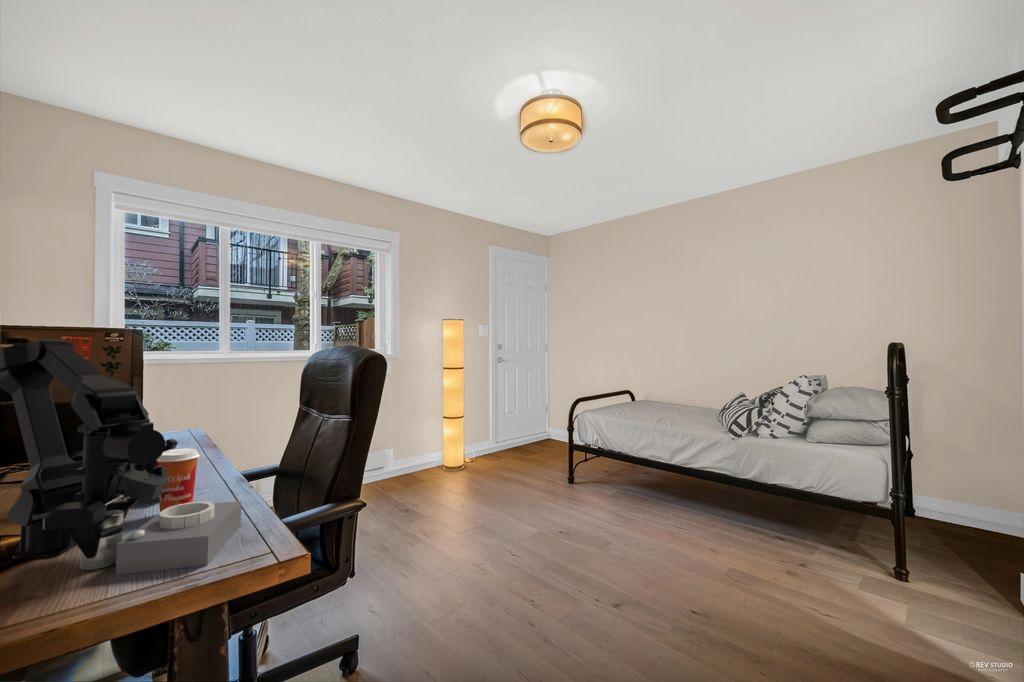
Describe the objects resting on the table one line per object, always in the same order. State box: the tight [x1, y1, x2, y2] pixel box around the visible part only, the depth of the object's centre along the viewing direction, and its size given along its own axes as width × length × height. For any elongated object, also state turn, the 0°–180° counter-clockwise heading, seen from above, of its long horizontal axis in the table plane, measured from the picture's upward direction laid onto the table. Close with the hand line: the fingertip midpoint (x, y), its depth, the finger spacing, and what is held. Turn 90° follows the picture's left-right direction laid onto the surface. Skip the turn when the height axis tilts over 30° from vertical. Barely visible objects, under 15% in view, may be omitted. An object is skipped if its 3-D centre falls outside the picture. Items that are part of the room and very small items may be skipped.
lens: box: [79, 510, 125, 571], centre depth 75 cm, size 5×5×8 cm
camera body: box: [115, 500, 242, 576], centre depth 82 cm, size 13×18×7 cm
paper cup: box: [156, 448, 201, 513], centre depth 98 cm, size 8×8×14 cm
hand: (101, 550), depth 75 cm, fingers closed on lens, 5 cm apart
